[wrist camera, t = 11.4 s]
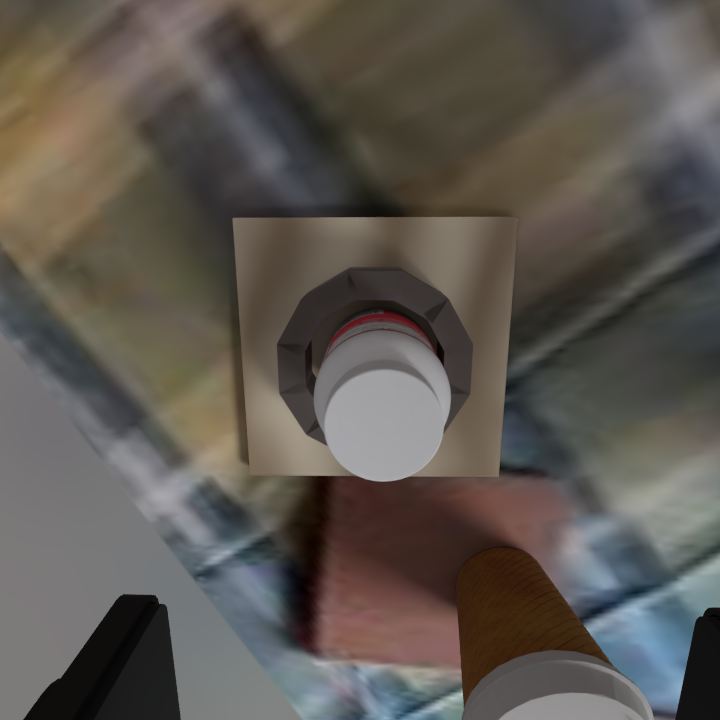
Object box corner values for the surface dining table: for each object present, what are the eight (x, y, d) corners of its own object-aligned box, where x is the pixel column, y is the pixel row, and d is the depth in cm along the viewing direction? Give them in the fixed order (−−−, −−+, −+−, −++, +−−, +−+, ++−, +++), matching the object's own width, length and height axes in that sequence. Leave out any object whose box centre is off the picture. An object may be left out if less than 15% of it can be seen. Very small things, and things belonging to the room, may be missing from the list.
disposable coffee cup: (406, 600, 35) (424, 783, 23) (486, 501, 33) (550, 650, 21) (512, 661, 36) (579, 864, 24) (596, 569, 34) (714, 745, 22)
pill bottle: (399, 420, 30) (414, 524, 20) (310, 376, 30) (276, 458, 19) (449, 334, 29) (495, 395, 18) (357, 286, 28) (349, 320, 18)
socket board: (513, 217, 28) (536, 214, 24) (494, 469, 32) (511, 502, 28) (237, 218, 28) (216, 216, 25) (253, 468, 32) (237, 500, 29)
